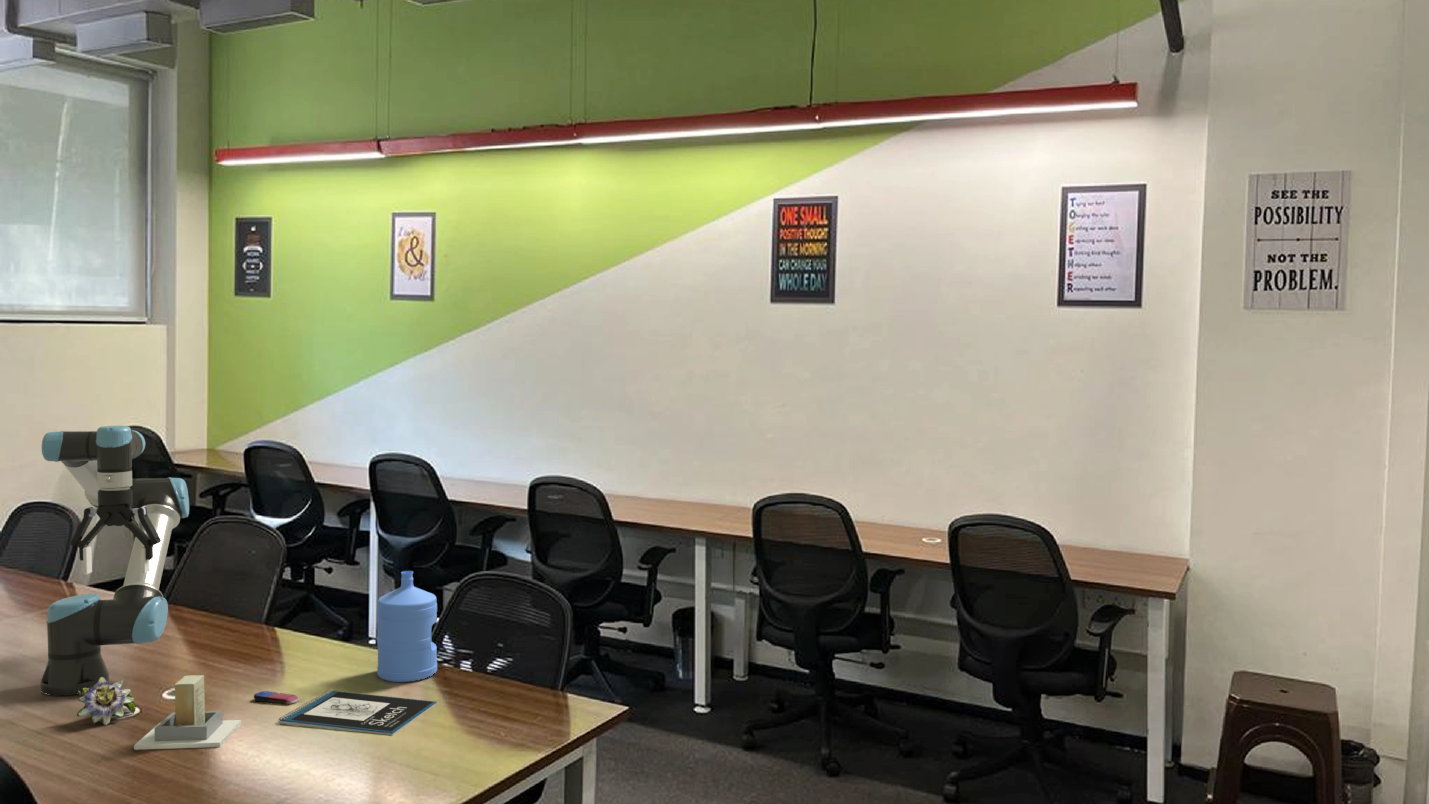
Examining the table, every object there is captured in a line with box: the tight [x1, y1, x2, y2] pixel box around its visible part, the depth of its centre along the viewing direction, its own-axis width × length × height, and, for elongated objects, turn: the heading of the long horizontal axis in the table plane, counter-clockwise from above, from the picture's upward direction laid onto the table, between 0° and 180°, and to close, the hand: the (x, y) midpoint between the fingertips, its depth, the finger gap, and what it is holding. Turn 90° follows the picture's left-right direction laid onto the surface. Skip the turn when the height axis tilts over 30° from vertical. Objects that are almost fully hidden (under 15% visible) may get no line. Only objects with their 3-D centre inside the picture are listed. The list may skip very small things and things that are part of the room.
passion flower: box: [76, 677, 137, 726], centre depth 248 cm, size 11×11×12 cm
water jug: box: [376, 570, 438, 683], centre depth 283 cm, size 16×16×28 cm
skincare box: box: [174, 674, 206, 726], centre depth 238 cm, size 6×4×12 cm
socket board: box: [133, 710, 242, 751], centre depth 238 cm, size 18×14×4 cm
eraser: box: [253, 690, 300, 706], centre depth 262 cm, size 11×4×2 cm, turn 77°
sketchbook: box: [278, 689, 437, 736], centre depth 254 cm, size 22×30×2 cm
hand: (116, 573), depth 261 cm, fingers open, 13 cm apart
